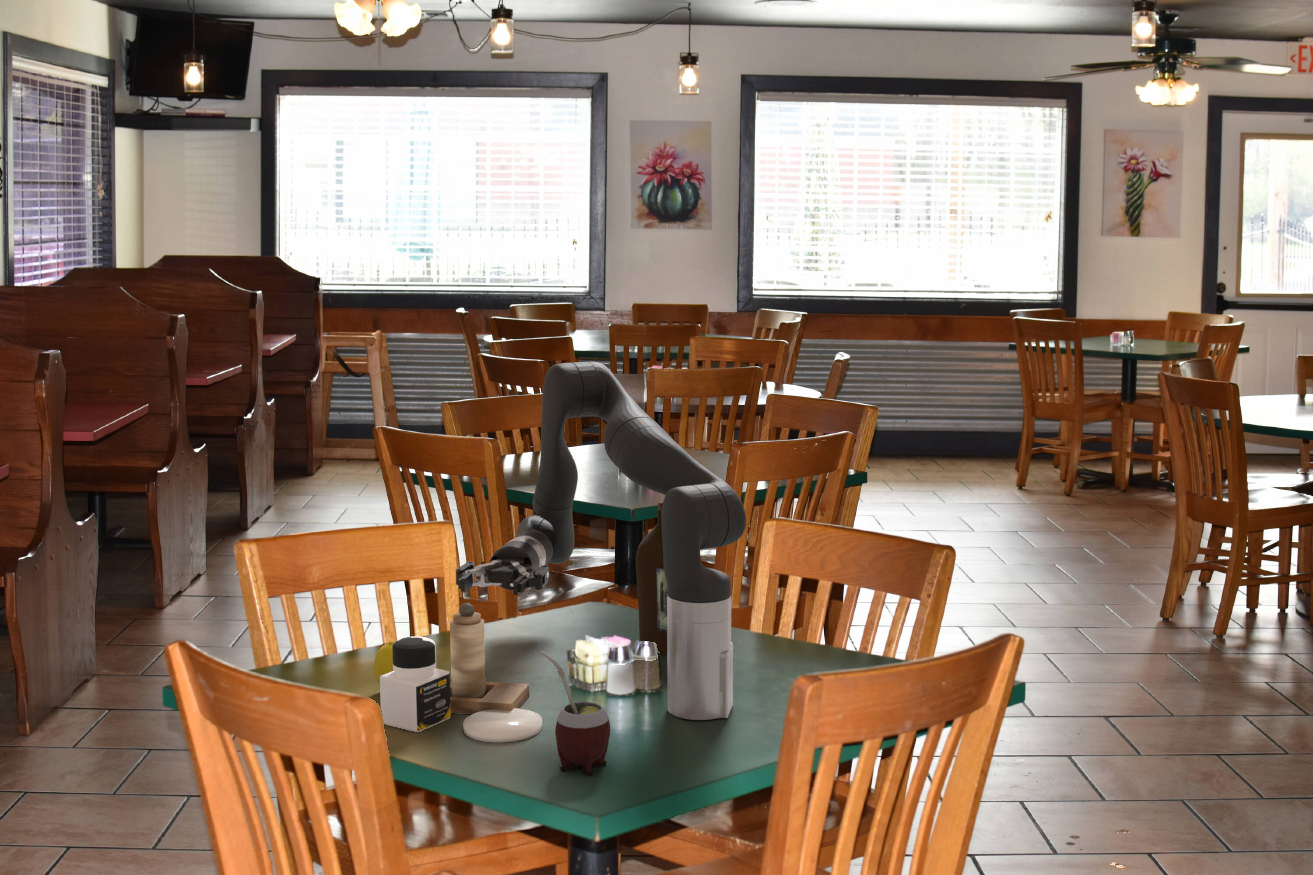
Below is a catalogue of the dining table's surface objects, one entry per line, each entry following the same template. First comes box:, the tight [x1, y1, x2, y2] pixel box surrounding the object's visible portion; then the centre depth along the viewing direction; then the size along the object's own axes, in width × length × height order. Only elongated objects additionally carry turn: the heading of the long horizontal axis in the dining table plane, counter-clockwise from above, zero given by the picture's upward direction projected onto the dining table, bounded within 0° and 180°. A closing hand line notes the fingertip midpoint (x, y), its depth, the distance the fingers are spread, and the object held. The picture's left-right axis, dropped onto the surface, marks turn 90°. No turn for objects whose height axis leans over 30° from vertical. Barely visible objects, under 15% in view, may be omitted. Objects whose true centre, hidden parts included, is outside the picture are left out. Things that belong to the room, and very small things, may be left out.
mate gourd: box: [541, 650, 611, 777], centre depth 170 cm, size 8×8×15 cm
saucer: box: [462, 708, 543, 743], centre depth 186 cm, size 11×11×1 cm
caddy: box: [450, 678, 530, 715], centre depth 195 cm, size 13×9×2 cm
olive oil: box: [635, 499, 667, 656], centre depth 222 cm, size 11×11×25 cm
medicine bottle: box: [379, 635, 452, 734], centre depth 188 cm, size 7×7×12 cm
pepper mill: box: [449, 602, 486, 699], centre depth 195 cm, size 5×5×15 cm
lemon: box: [373, 640, 396, 685], centre depth 201 cm, size 6×6×8 cm
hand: (489, 587), depth 205 cm, fingers open, 8 cm apart
